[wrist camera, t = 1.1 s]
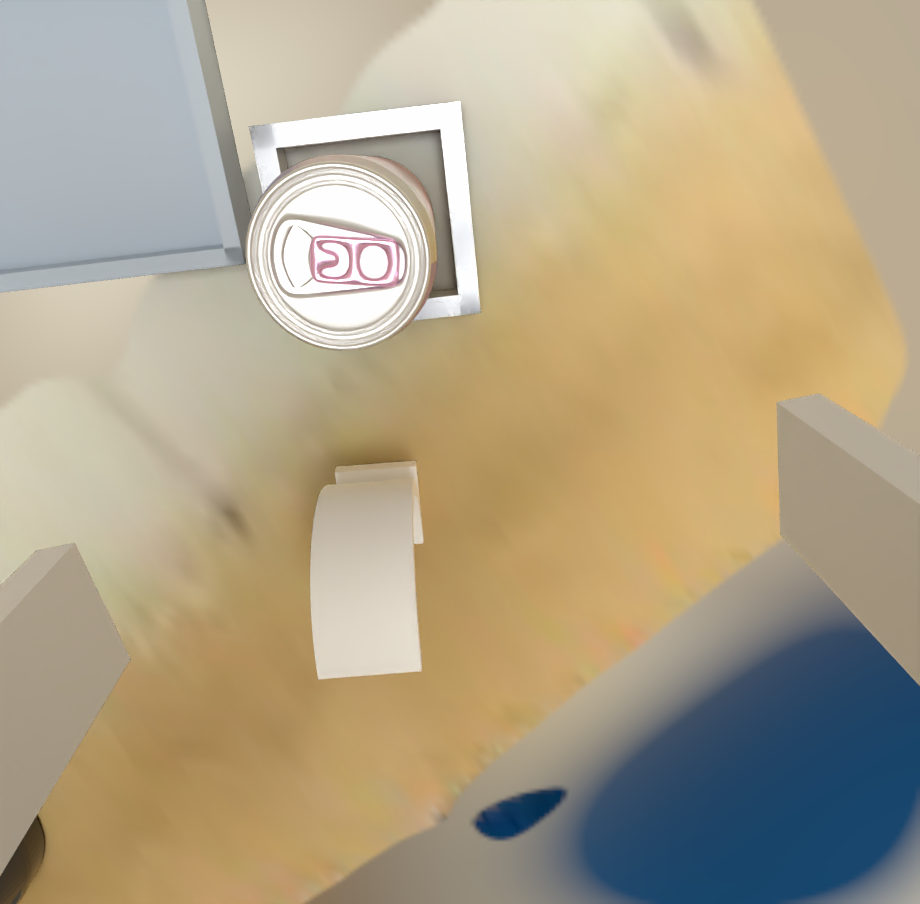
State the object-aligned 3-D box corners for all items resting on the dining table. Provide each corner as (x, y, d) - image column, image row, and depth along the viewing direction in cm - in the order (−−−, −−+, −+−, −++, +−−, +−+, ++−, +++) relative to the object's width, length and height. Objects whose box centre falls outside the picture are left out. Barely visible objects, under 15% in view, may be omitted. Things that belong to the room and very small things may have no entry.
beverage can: (431, 285, 36) (432, 362, 23) (314, 278, 36) (243, 352, 22) (436, 160, 34) (442, 160, 20) (312, 152, 34) (231, 147, 20)
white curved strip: (347, 542, 42) (317, 679, 31) (333, 449, 40) (296, 561, 29) (424, 536, 42) (422, 671, 31) (415, 443, 40) (409, 553, 29)
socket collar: (298, 326, 37) (291, 335, 35) (258, 128, 33) (249, 126, 31) (478, 305, 37) (480, 312, 35) (458, 104, 33) (460, 101, 31)
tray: (-56, 292, 36) (-96, 303, 33) (-183, -36, 30) (-245, -56, 27) (259, 255, 35) (244, 263, 33) (188, -80, 30) (163, -104, 27)
